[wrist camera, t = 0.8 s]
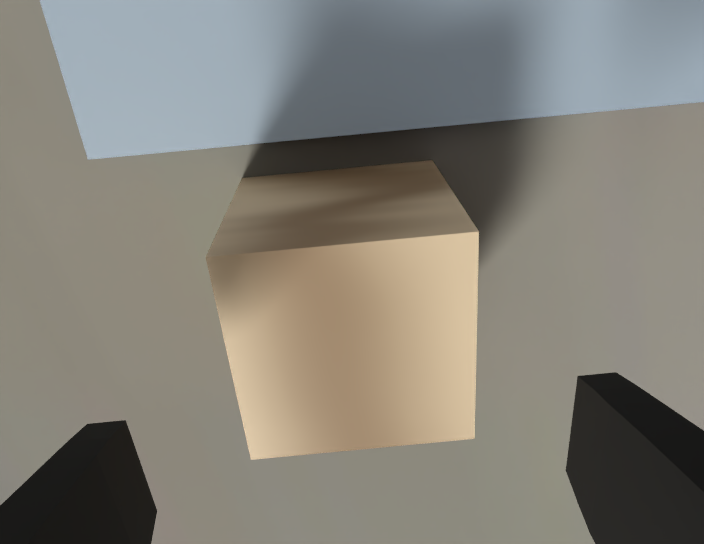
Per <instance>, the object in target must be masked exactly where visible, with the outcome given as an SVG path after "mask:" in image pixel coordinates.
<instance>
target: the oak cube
mask: <svg viewBox="0 0 704 544" xmlns="http://www.w3.org/2000/svg"><path fill="white" fill-rule="evenodd" d="M478 253H479V231H478V229H477V228H476V226H475V225H474V223H473V222H472V220H471V219H470V217H469V216H468V214H467V212H466V211H465V209H464V208H463V206H462V205H461V203H460V202H459V200H458V199H457V197H456V196H455V194H454V193H453V191H452V190H451V188H450V186H449V185H448V183H447V182H446V180H445V179H444V177H443V176H442V174H441V173H440V171H439V170H438V168H437V167H436V165H435V164H434V162H433V160H428V161H417V162H407V163H396V164H385V165H375V166H364V167H354V168H343V169H332V170H322V171H311V172H301V173H290V174H279V175H269V176H258V177H247V178H242V179H241V182H240V184H239V186H238V188H237V190H236V193H235V195H234V197H233V199H232V201H231V203H230V206H229V208H228V210H227V212H226V214H225V216H224V219H223V221H222V223H221V225H220V227H219V229H218V232H217V234H216V236H215V238H214V240H213V243H212V245H211V247H210V249H209V251H208V253H207V256H206V261H207V265H208V270H209V274H210V278H211V283H212V287H213V292H214V296H215V301H216V305H217V310H218V314H219V319H220V323H221V328H222V332H223V337H224V341H225V345H226V350H227V354H228V359H229V363H230V368H231V372H232V377H233V381H234V386H235V390H236V395H237V399H238V404H239V408H240V412H241V417H242V421H243V426H244V430H245V435H246V439H247V444H248V448H249V453H250V457H251V460H254V459H264V458H275V457H285V456H296V455H307V454H317V453H328V452H338V451H349V450H359V449H370V448H381V447H391V446H402V445H412V444H423V443H434V442H444V441H455V440H465V439H475V392H476V346H477V299H478Z"/></svg>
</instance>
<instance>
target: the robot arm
mask: <svg viewBox="0 0 704 544" xmlns="http://www.w3.org/2000/svg"><path fill="white" fill-rule="evenodd" d="M566 472H567V475H568V477H569V480H570V483H571V485H572V488H573V491H574V494H575V496H576V499H577V502H578V504H579V507H580V509H581V512H582V514H583V517H584V519H585V522H586V524H587V527H588V529H589V532H590V534H591V536H592V538H593V540H594V542H595V544H704V431H703V430H702V429H700V428H699V427H697V426H696V425H694V424H693V423H691V422H690V421H688V420H687V419H685V418H684V417H682V416H681V415H680V414H678V413H677V412H675V411H674V410H672V409H671V408H669V407H668V406H666V405H665V404H663V403H662V402H660V401H659V400H657V399H656V398H654V397H653V396H651V395H650V394H649V393H647V392H646V391H644V390H643V389H641V388H640V387H638V386H637V385H635V384H633V383H632V382H630V381H629V380H627V379H626V378H624V377H622V376H621V375H619V374H618V373H616V372H615V373H605V374H595V375H585V376H578V378H577V386H576V394H575V402H574V410H573V418H572V426H571V434H570V442H569V450H568V458H567V466H566ZM156 514H157V509H156V506H155V504H154V501H153V498H152V495H151V492H150V489H149V486H148V483H147V481H146V478H145V475H144V472H143V469H142V466H141V463H140V460H139V458H138V455H137V452H136V449H135V446H134V443H133V440H132V437H131V434H130V432H129V429H128V426H127V423H126V420H124V421H114V422H103V423H93V424H87V425H86V426H85V427H83V428H82V429H81V430H80V431H79V432H78V433H77V434H75V435H74V436H73V437H72V438H71V439H70V440H69V441H68V442H67V443H66V444H65V445H64V446H62V447H61V448H60V449H59V450H58V451H57V452H56V453H55V454H54V455H53V456H52V457H51V458H50V459H49V460H48V461H47V462H46V463H45V464H44V465H43V466H41V467H40V468H39V469H38V470H37V471H36V472H35V473H34V474H33V475H32V476H31V477H30V478H29V479H28V480H27V481H26V482H25V483H24V484H23V485H22V486H21V487H20V488H19V489H17V490H16V491H15V492H14V493H13V494H12V495H11V496H10V497H9V498H8V499H7V500H6V501H5V502H4V503H3V504H2V505H0V544H151V541H152V535H153V530H154V524H155V519H156Z"/></svg>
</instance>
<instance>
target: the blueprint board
mask: <svg viewBox="0 0 704 544" xmlns="http://www.w3.org/2000/svg"><path fill="white" fill-rule="evenodd" d="M40 3H41V6H42V9H43V13H44V16H45V19H46V22H47V26H48V29H49V32H50V36H51V39H52V42H53V46H54V49H55V52H56V55H57V59H58V62H59V65H60V69H61V72H62V75H63V78H64V82H65V85H66V88H67V92H68V95H69V98H70V102H71V105H72V108H73V111H74V115H75V118H76V121H77V125H78V128H79V131H80V135H81V138H82V141H83V144H84V148H85V151H86V154H87V158H88V159H99V158H110V157H120V156H131V155H142V154H152V153H163V152H174V151H184V150H195V149H206V148H216V147H227V146H238V145H248V144H259V143H270V142H280V141H291V140H302V139H312V138H323V137H334V136H344V135H355V134H366V133H376V132H387V131H398V130H408V129H419V128H430V127H440V126H451V125H462V124H472V123H483V122H494V121H504V120H515V119H526V118H536V117H547V116H558V115H568V114H579V113H590V112H601V111H611V110H622V109H633V108H643V107H654V106H665V105H675V104H686V103H697V102H704V0H40Z"/></svg>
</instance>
